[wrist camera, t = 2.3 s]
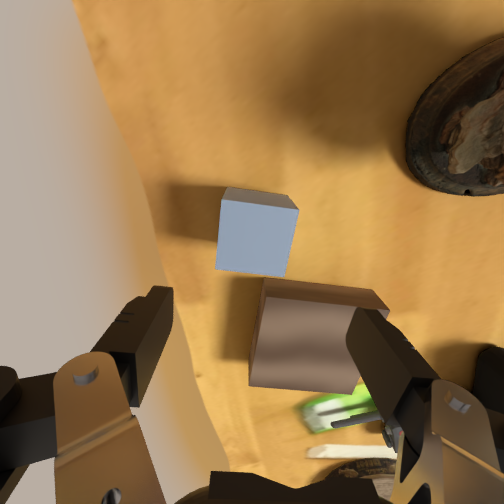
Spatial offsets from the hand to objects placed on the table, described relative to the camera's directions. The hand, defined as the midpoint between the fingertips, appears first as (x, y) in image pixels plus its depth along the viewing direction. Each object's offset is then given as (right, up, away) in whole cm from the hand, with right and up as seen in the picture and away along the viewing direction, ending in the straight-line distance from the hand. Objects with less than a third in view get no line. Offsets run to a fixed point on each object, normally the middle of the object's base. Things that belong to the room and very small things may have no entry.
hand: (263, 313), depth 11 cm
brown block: (+6, -6, +18) cm, 20 cm away
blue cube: (0, +6, +12) cm, 14 cm away
